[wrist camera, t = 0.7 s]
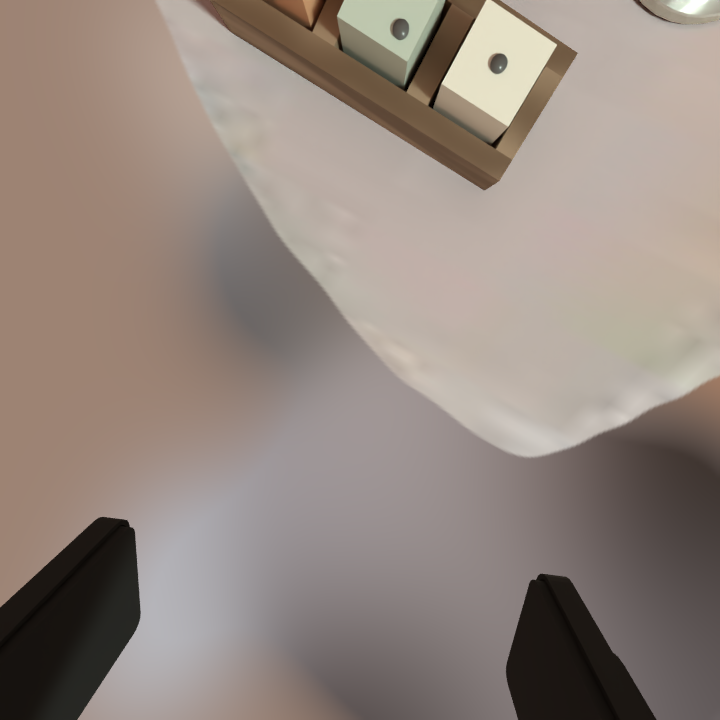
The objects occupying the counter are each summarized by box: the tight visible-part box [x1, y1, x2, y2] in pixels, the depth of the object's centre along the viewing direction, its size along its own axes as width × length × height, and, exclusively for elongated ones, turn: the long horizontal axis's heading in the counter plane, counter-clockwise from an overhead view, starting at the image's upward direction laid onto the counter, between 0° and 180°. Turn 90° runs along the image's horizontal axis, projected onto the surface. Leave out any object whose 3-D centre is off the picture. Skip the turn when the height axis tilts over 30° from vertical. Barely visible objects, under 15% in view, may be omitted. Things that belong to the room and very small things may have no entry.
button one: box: [433, 0, 557, 145], centre depth 25 cm, size 5×5×5 cm
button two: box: [337, 0, 445, 91], centre depth 25 cm, size 5×5×5 cm
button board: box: [210, 0, 577, 190], centre depth 27 cm, size 9×24×4 cm, turn 61°
